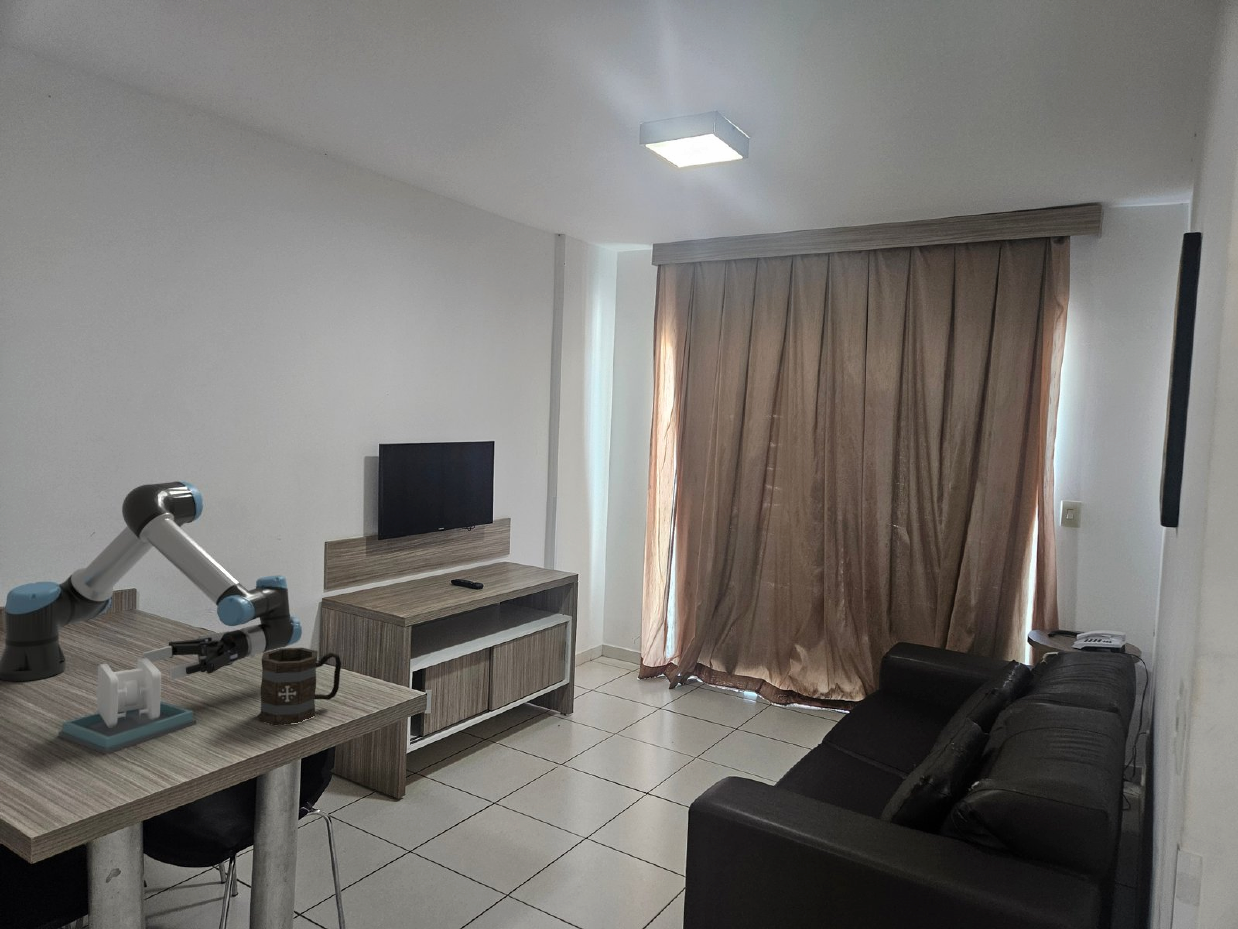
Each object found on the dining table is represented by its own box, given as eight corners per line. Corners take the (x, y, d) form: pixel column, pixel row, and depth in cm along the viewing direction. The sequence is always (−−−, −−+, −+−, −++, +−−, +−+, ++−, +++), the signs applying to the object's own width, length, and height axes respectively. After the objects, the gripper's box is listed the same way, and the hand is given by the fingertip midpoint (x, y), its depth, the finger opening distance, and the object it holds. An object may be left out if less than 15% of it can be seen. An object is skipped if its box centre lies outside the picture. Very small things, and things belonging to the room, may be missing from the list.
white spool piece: (94, 711, 187) (96, 661, 186) (146, 702, 194) (148, 654, 193) (108, 732, 175) (109, 679, 175) (162, 722, 183) (164, 671, 182)
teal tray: (58, 736, 179) (58, 723, 179) (150, 708, 198) (150, 696, 198) (105, 754, 172) (105, 740, 171) (196, 723, 190) (196, 711, 190)
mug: (268, 730, 189) (271, 667, 189) (249, 712, 199) (252, 652, 199) (350, 713, 202) (352, 654, 202) (328, 697, 213) (330, 641, 212)
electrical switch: (201, 670, 228) (201, 637, 228) (193, 667, 231) (193, 635, 231) (235, 663, 235) (234, 631, 235) (226, 661, 238) (226, 629, 238)
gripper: (268, 670, 204) (182, 696, 187) (217, 645, 219) (133, 667, 202) (268, 641, 203) (182, 665, 186) (217, 618, 218) (132, 638, 201)
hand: (156, 666), depth 194 cm, fingers open, 13 cm apart
